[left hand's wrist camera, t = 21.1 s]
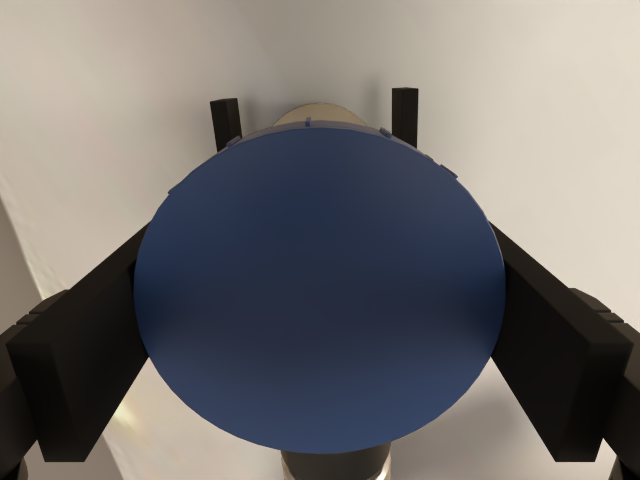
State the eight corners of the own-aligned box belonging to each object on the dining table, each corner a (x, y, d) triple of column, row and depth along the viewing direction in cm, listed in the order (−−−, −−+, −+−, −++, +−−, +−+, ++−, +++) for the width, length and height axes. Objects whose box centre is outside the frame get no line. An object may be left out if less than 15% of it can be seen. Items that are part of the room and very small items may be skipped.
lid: (359, 36, 9) (367, 27, 8) (538, 313, 12) (570, 347, 10) (88, 257, 11) (51, 285, 10) (293, 452, 14) (290, 498, 12)
